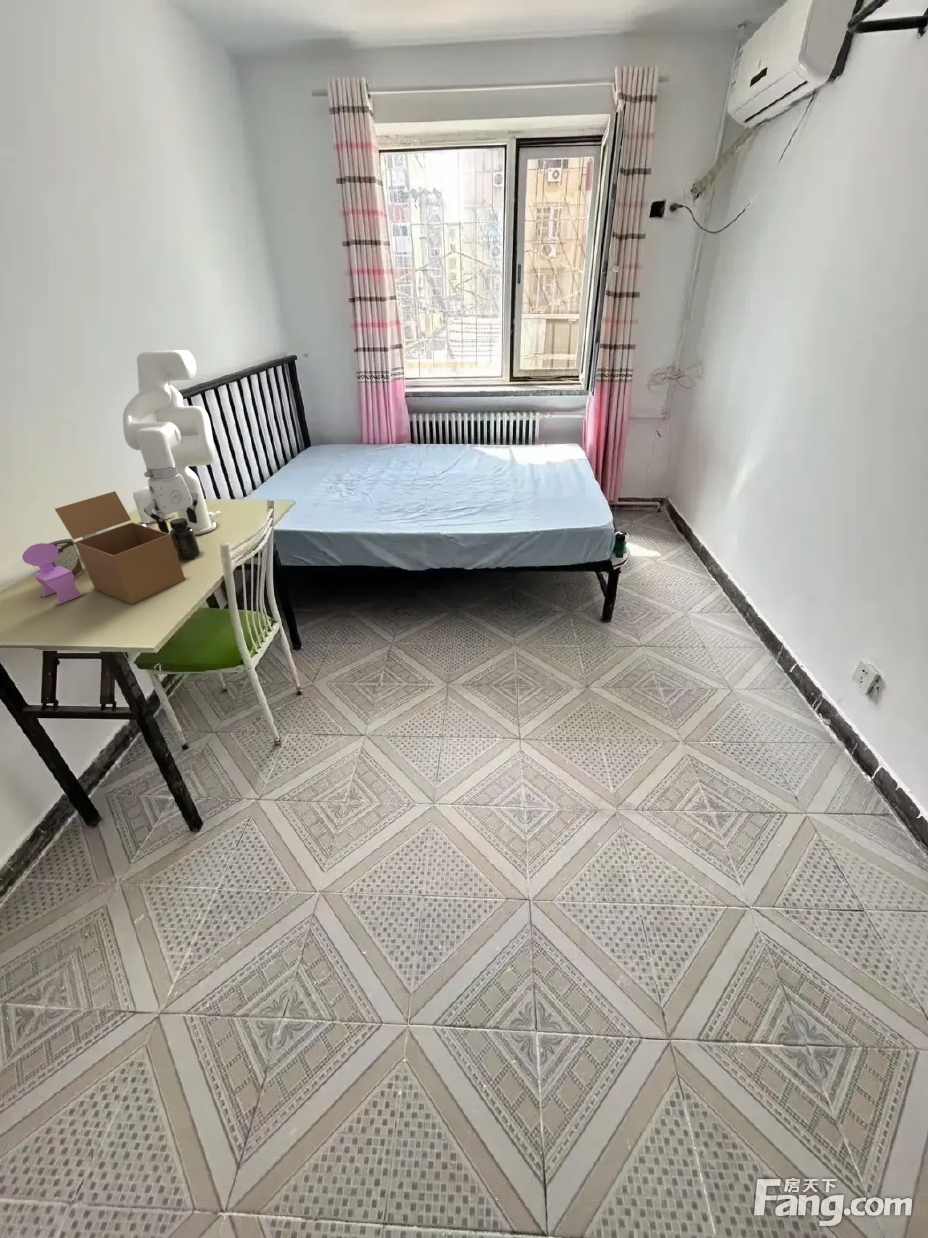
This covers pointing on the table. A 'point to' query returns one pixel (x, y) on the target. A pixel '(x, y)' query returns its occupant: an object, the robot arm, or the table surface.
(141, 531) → the carton
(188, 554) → the supplement bottle
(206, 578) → the table surface
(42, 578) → the toy chair
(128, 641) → the table surface
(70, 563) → the food container
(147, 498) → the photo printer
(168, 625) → the table surface
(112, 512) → the carton flap
